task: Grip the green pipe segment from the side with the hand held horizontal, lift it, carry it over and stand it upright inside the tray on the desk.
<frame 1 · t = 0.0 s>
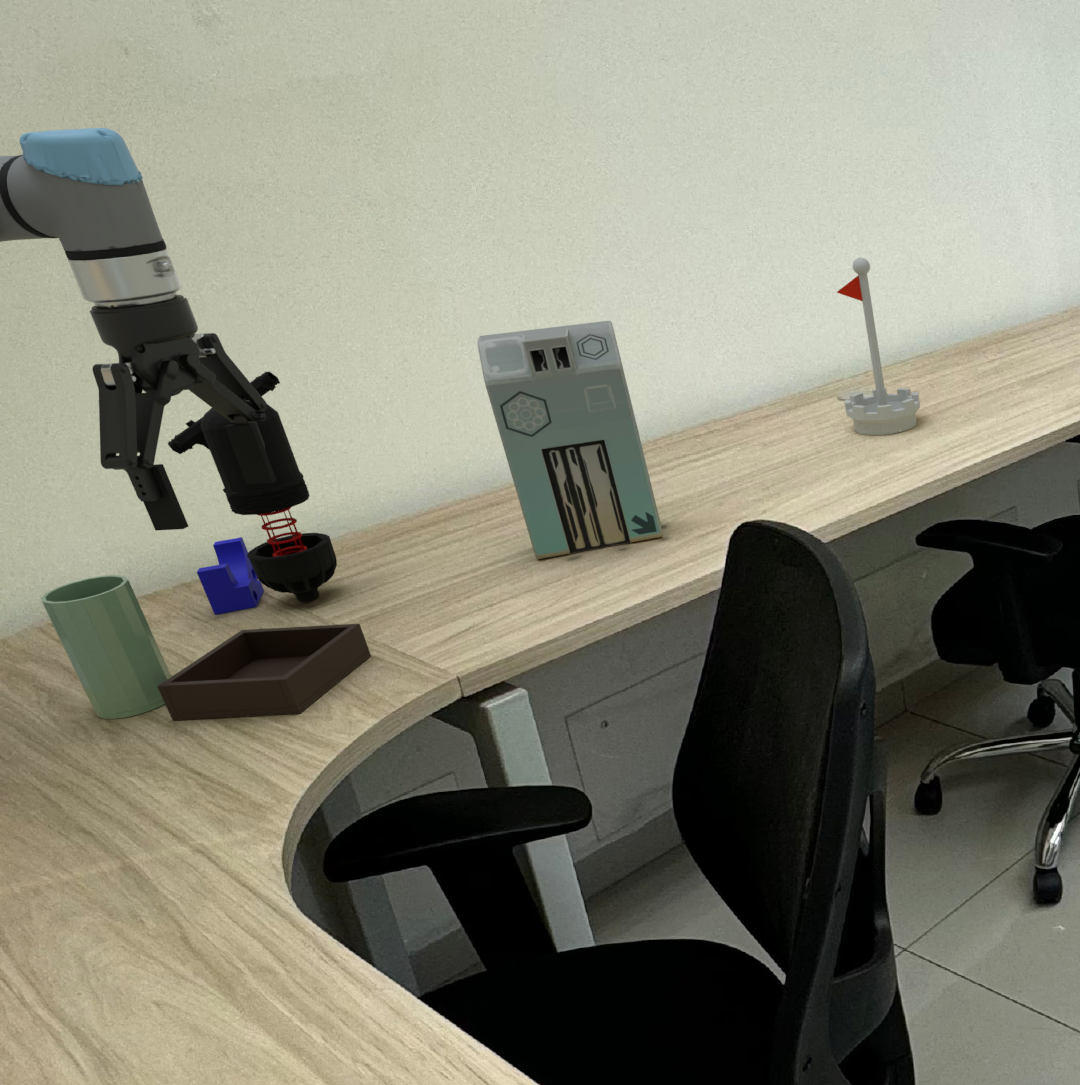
hand: (219, 504, 129), 23 cm above the table, tool pointing down, fingers open, 13 cm apart
tray: (276, 687, 140), on the table
device: (601, 542, 178), on the table
filter: (298, 601, 162), on the table
flag stand: (886, 427, 225), on the table
green pipe segment: (137, 702, 138), on the table
blue block: (244, 595, 165), on the table
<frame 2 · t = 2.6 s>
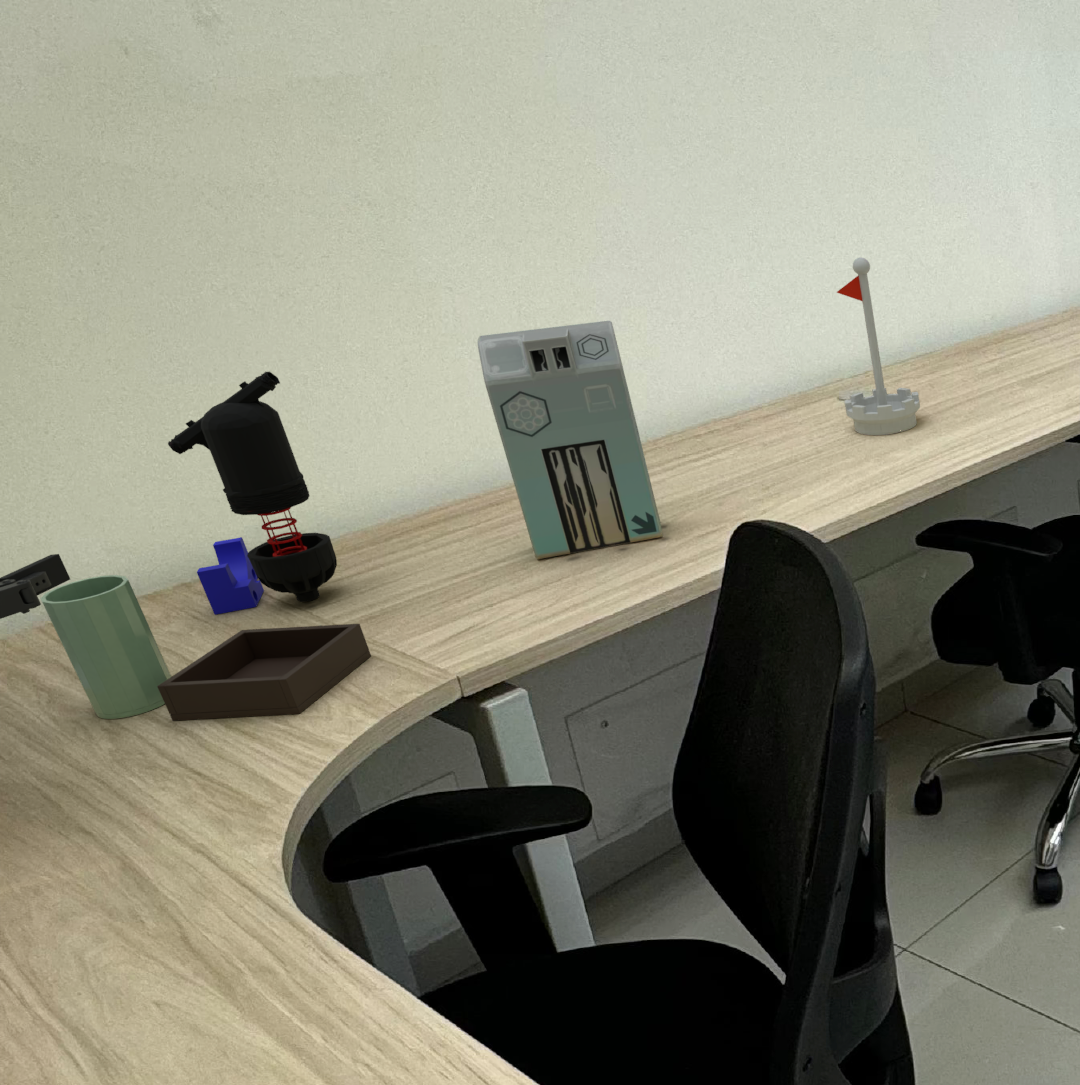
nothing on the table moved.
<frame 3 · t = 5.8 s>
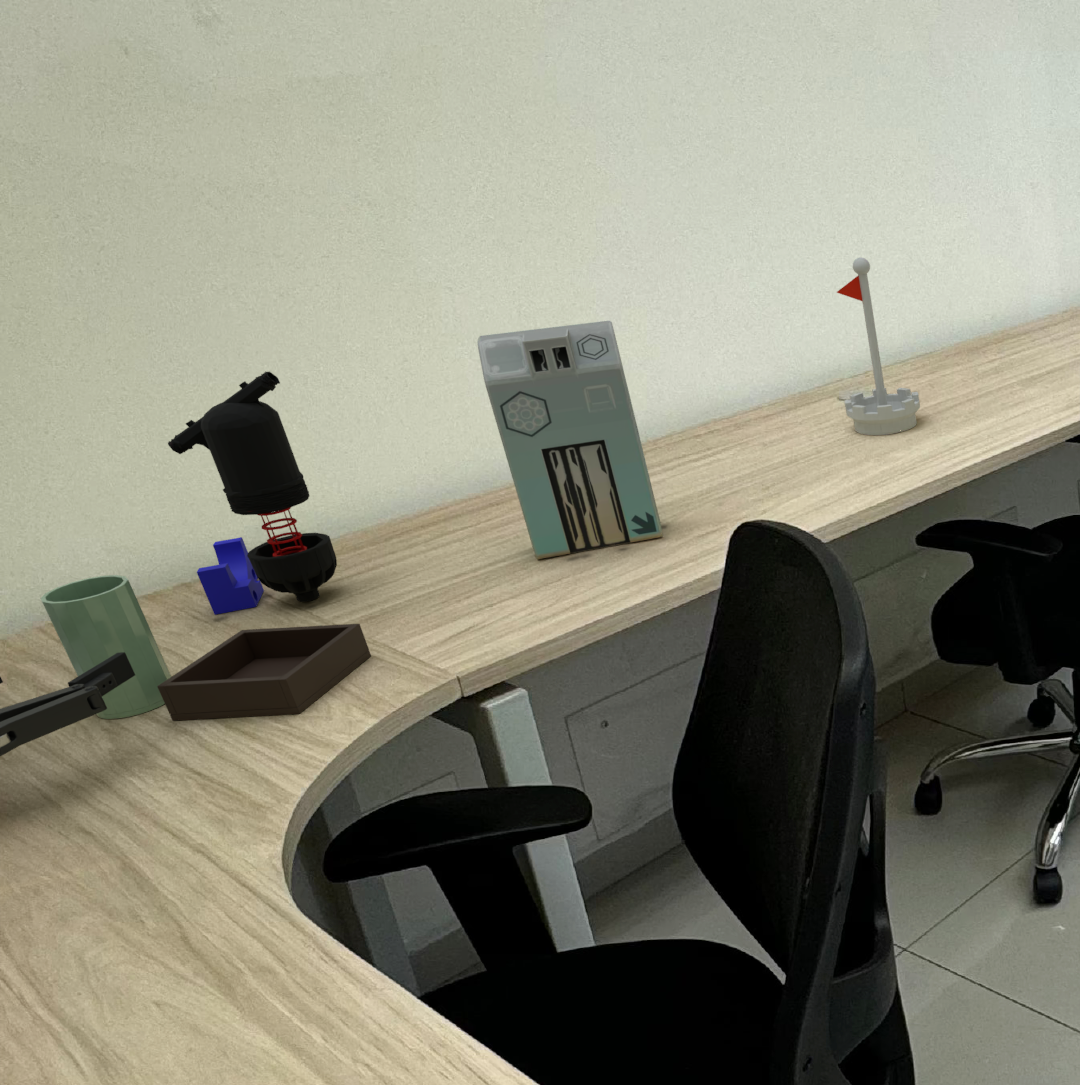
hand: (60, 667, 129), 8 cm above the table, tool horizontal, fingers open, 13 cm apart
nothing on the table moved.
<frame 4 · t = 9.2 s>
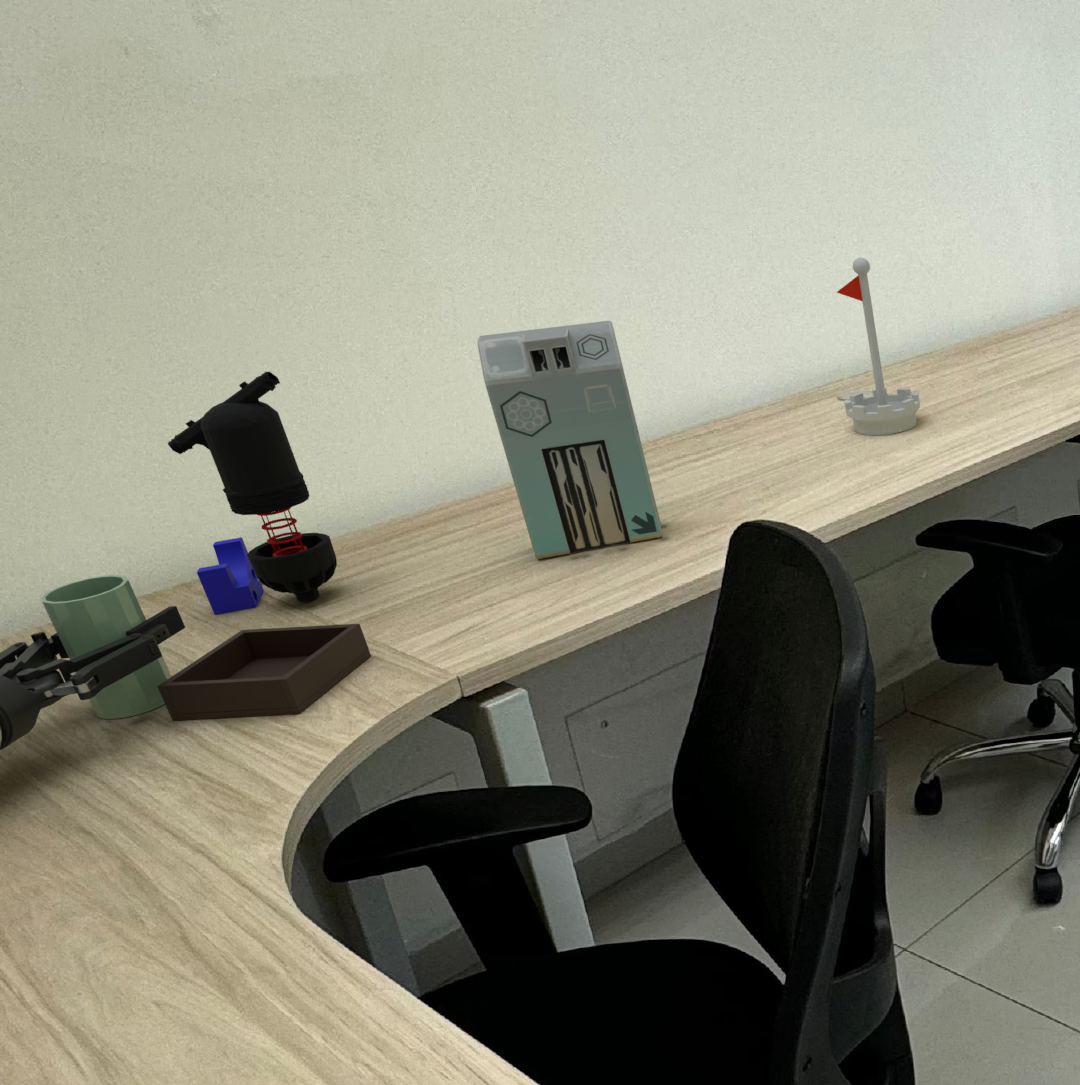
hand: (141, 619, 139), 8 cm above the table, tool horizontal, fingers closed on green pipe segment, 7 cm apart
green pipe segment: (137, 702, 138), on the table, touching gripper
everything else where it was.
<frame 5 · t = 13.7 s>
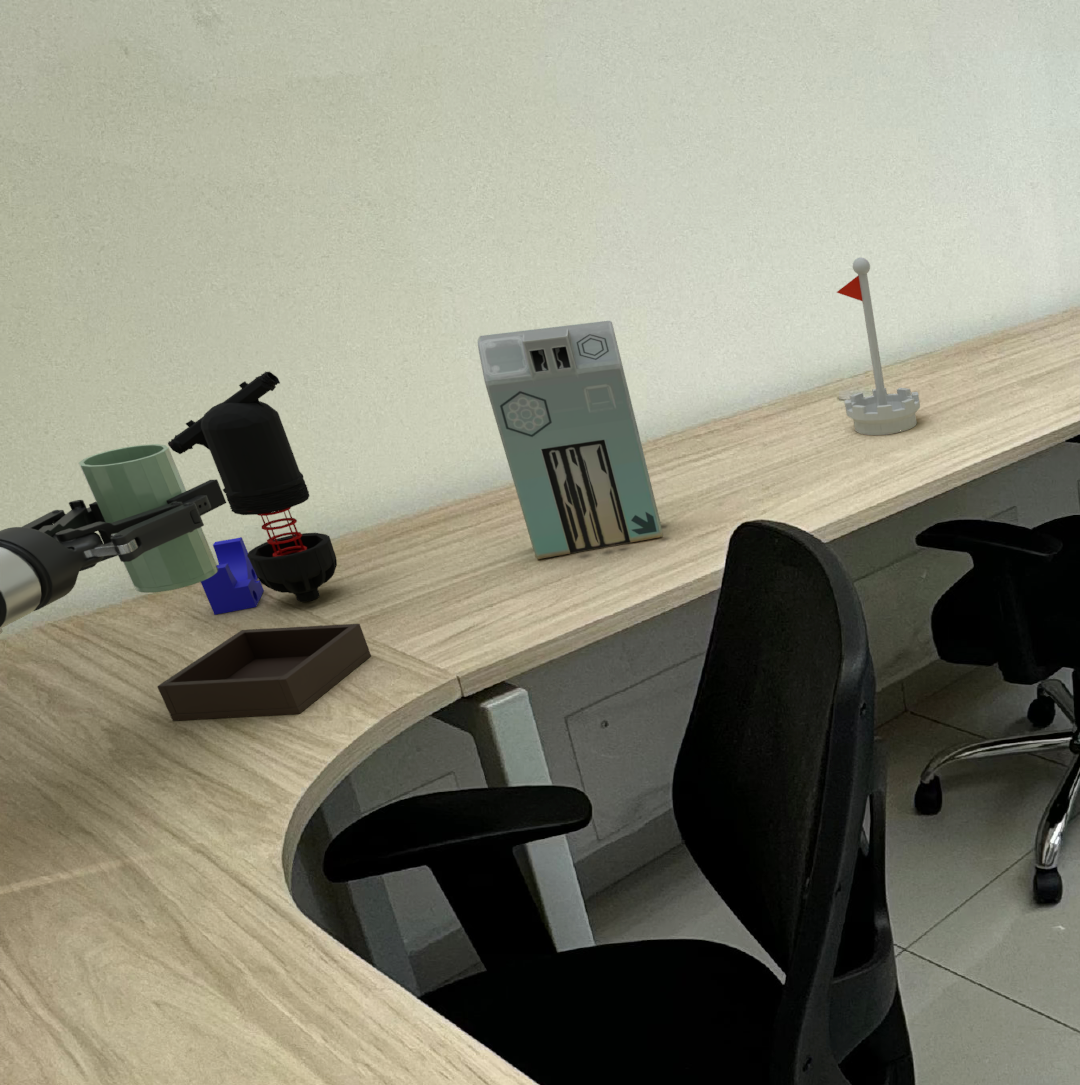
hand: (181, 493, 134), 22 cm above the table, tool horizontal, fingers closed on green pipe segment, 7 cm apart
green pipe segment: (177, 578, 133), point 14 cm above the table, touching gripper
everything else where it was.
when the fingers open (9 cm above the table, at t = 18.4 s): green pipe segment stays where it is, resting on tray.
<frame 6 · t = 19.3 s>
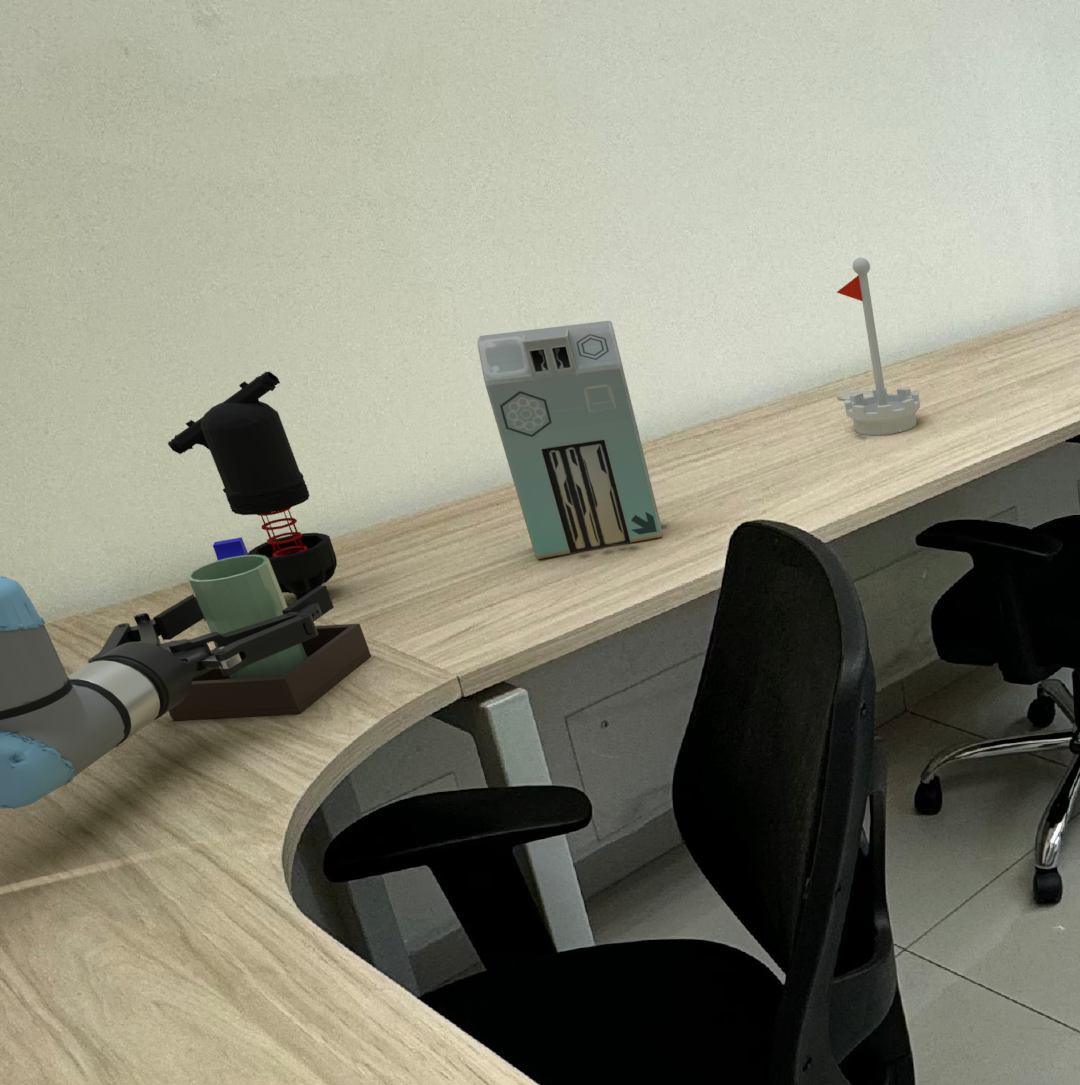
hand: (265, 599, 139), 9 cm above the table, tool horizontal, fingers open, 13 cm apart
green pipe segment: (274, 681, 140), point 1 cm above the table, touching tray
everything else where it was.
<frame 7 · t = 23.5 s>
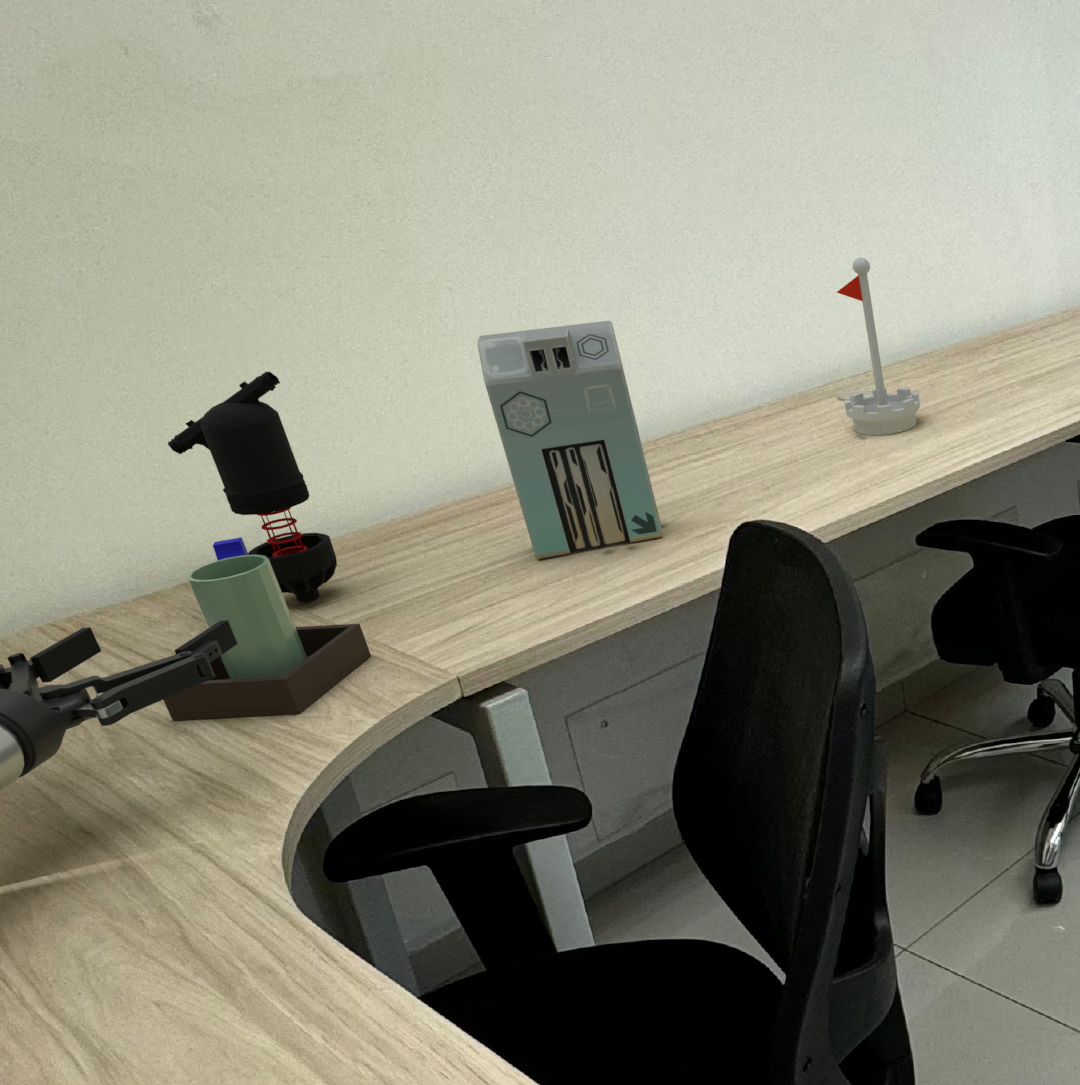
hand: (161, 635, 125), 12 cm above the table, tool horizontal, fingers open, 13 cm apart
nothing on the table moved.
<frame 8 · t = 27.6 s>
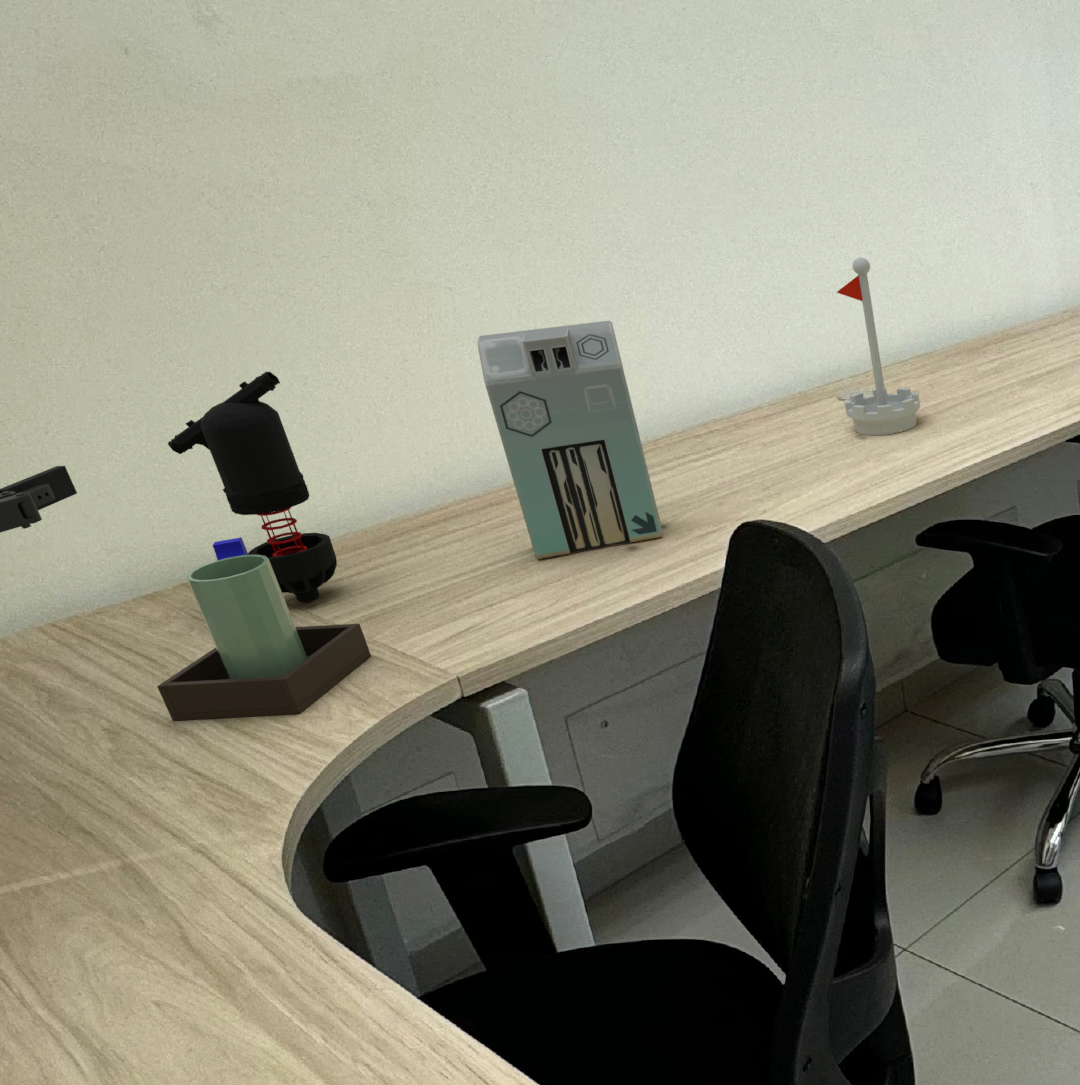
nothing on the table moved.
at the end: green pipe segment 0.1 cm off-centre in the tray, point 0.8 cm above the tray's base; green pipe segment tilted 0°; the gripper is holding nothing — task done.
